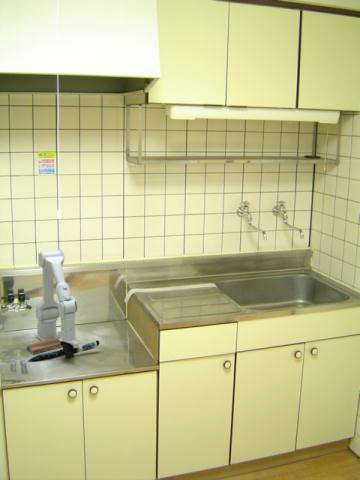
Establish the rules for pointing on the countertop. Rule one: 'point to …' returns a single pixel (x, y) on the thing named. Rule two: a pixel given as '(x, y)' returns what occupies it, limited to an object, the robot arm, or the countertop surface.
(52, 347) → the walnut board
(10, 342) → the countertop surface
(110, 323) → the countertop surface
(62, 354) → the knife
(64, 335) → the robot arm
